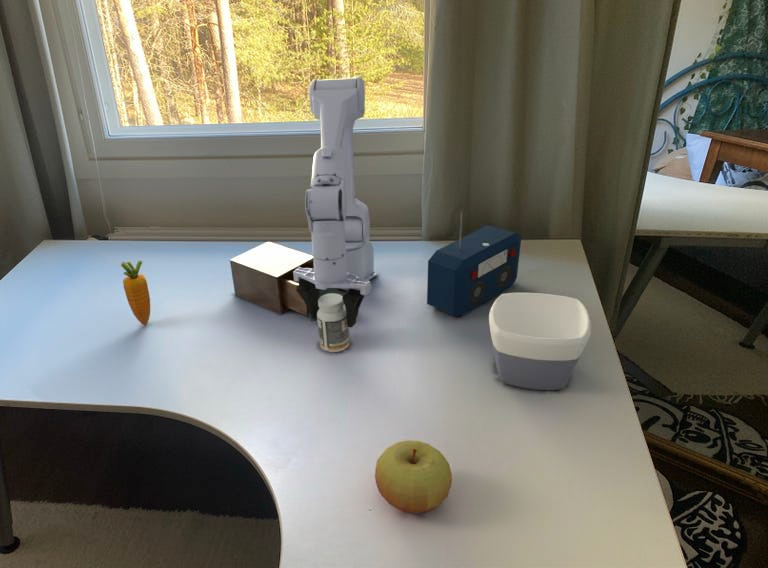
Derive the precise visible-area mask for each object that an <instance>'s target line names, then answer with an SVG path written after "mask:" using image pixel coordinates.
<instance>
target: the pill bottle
mask: <svg viewBox="0 0 768 568" xmlns="http://www.w3.org/2000/svg"><path fill="white" fill-rule="evenodd" d="M342 297H343V296H341V295H339V294H334V293H331V294H325V295H323V296H321V297H320V298H319V299H318V306H319V310H318V312H317V321H316V322H317V329H318V340H319V346H320V348H321V349H322V350H324V351H326V352H329V353H338V352H341V351H344V350H346V349H347V348H348V347H349V346H350V340H351V339H350V328H349V327H348V326H347V314H346V308H345V305H344V302H343V299H342Z"/></svg>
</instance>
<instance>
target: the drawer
mask: <svg viewBox="0 0 768 568" xmlns="http://www.w3.org/2000/svg"><path fill="white" fill-rule="evenodd" d="M302 268H314V264H311V263H309V264H308V265H306V266H304V267H302ZM280 284H281V293H282V303H283V306H285V307H287V308H289V310H292V311H294V312H297V313H300V314H302V315H304V316H308V317H309V321H310V322H313V323H315V322H318V321H317V317H316V318H315V319H311V316H310V313H309V311H308V308H307V306H306V304H305V302H304V300H303V299H302V297H301V296H300V295H299V293H298V292H297V291H296V287H297V286H298V285H299V282H297V281H294V275H293V273H291V274H289V275H287V276H285V277H283V278H282V279H280ZM348 292H349V290H346V289H341V288H327V289H325V290H322V289H320V290H319V298H320V297H321V296H323V295H325V294H331V293H334V294H339V295H341V296H344V295H345V294H346V293H348Z"/></svg>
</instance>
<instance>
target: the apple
mask: <svg viewBox="0 0 768 568" xmlns="http://www.w3.org/2000/svg"><path fill="white" fill-rule="evenodd" d="M452 475H453V474H452V470H451V465H450V463H449V461H448V460H447V458H446V457H445V456H444V455H443V453H442V452H441V451H440V450H438V449H437V448H436V447H434V446H432V445H431V444H429V443H428V442H427V443H426V442H423V441H420V440H403V441H398V442H396V443H394V444H392V445H390V446H388V447H387V448H385V450H384V451H383V452H382V453H381V454H380V456H379V457H378V458H377V460H376V466H375V471H374V479H375V484H376V487H377V490H378V493H379V494H380V495H381V497H382V498H383V499H384V500H385V501H386V502H387V503H388V504H389V505H390V506H392V507H393V508H396V509H398V510H400V511H401V512H404V513H405V512H406V513H410V514H421V513H426V512H428V511H431V510H434V509H436V508H438V506H440V505H441V504H442V503H443V502H444V501H445V500H446V498H448V496H449V493H450V490H451V487H452V482H453V479H452V478H453V476H452Z"/></svg>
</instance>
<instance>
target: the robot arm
mask: <svg viewBox="0 0 768 568" xmlns="http://www.w3.org/2000/svg"><path fill="white" fill-rule="evenodd" d="M365 87H366V86H365V80H364V78H362V76H357V77H343V78H329V79H314V78H313V79H312V81H311V82H310V84H309V87H308V101H309V108H310V109H309V110H310V112H311V113H312V114H313V116H314V119H316V120H319V121H320V148H318V149H317V150H316V151H315V152H314V154H313V156H312V157H313V160H312V168H311V169H312V170H311V180H310V189H309V188H307V189H306V191H305V196H304V208H305V209H304V210H305V215H306V220H307V223H308V230H309V232H311V233H310V234H311V235H310V237H311V248H312V249H311V250H312V256H313V263H314V268H300V267H298V268H297V269H296V270H295V271H293V275H294V281H297V282H299V285H298V286H297V287H296V291H297V292H298V293H299V295H300V296H301V297H302V299H303V300H304V302H305V304H306V306H307V308H308V311H309V313H310V316H311V319H315V318H316V317H317V312H318V310H319V306H318V299H319V290H320V289H322V290H325V289H327V288H341V289H346V290H349V292H348V293H346V294H345V295H344V296H343V297H342V299H343V302H344V307H345V308H346V314H347V326H348V327H349V329H352V328H353V327H354V326H355V325H356V324H357V318H358V315H359V312H360V311H359V310H360V307H361V305H362V302H363V300H364V298H365V296H367V295H368V294H369V293H370V291H371V279H373V278H375V277H376V276H378V273H377V272H375V270H374V269H375V263H374V262H375V261H374V258H375V257H374V246H373V244H372V242H371V240H370V235H371V220H370V214H369V208H368V205H367V204H365V203H364V202H362V201H361V200H359V199H358V198H356V189H355V188H356V185H355V184H356V183H355V182H356V181H355V152H354V125H355V123H356V120H359V119H362V118H364V116H365V112H366V89H365Z"/></svg>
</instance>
